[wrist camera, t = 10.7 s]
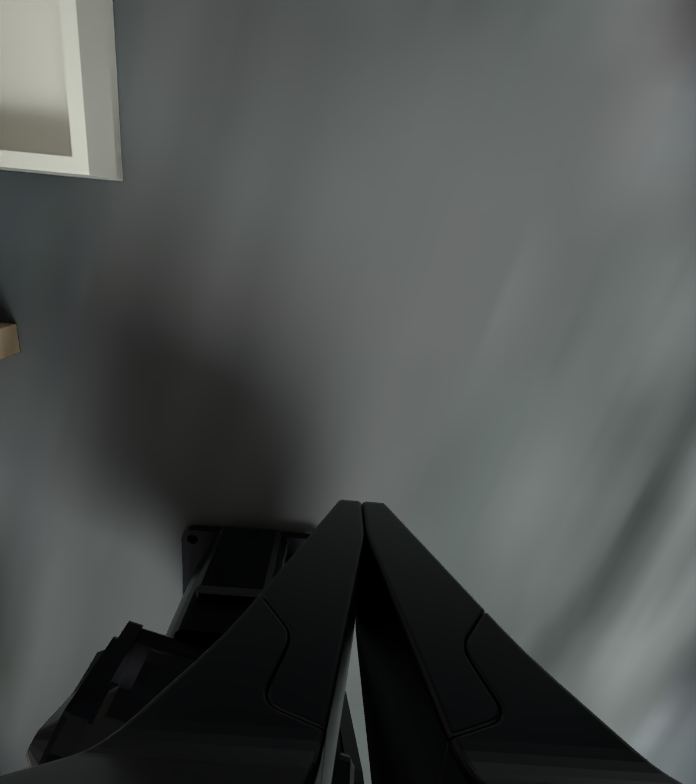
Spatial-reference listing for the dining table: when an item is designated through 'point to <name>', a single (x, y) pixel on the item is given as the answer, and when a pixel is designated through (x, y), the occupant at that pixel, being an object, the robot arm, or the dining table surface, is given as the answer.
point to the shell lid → (59, 89)
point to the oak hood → (8, 340)
